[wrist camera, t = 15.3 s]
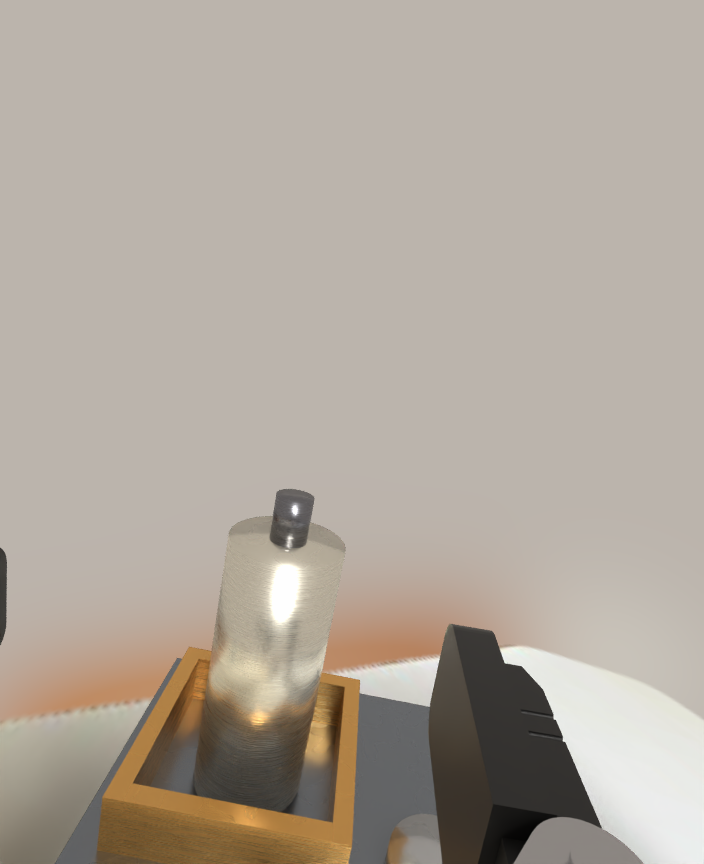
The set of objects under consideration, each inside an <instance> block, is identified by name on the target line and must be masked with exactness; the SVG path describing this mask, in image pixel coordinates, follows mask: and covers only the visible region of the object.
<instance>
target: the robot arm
mask: <svg viewBox="0 0 704 864" xmlns="http://www.w3.org/2000/svg"><path fill="white" fill-rule="evenodd" d="M6 574H7V560H6V555H5V552H4V551H3V550H2V549H1V548H0V645H1V642H2V640H3V637H4V634H5V629H6V589H7V588H6V585H7V584H6V583H7V577H6V576H7V575H6ZM428 734H429V747H430V756H431V765H432V774H433V783H434V792H435V801H436V811H437V820H438V829H439V838H440V847H441V856H442V864H643V862H642V861H641V860H640V859H639V858H638V857H637V856H636V855H635V854H634V853H633V852H632V851H631V850H630V849H629V848H628V847H627V846H626V845H625V844H623V843H622V842H621V841H620V840H618V839H617V838H616V837H614V836H613V835H611V834H610V833H608V832H606V831H605V830H603V829H602V827H601V825H600V823H599V820H598V818H597V816H596V813H595V811H594V809H593V806H592V804H591V802H590V799H589V797H588V795H587V792H586V790H585V787H584V785H583V783H582V780H581V778H580V776H579V773H578V771H577V769H576V766H575V764H574V762H573V759H572V757H571V755H570V752H569V750H568V748H567V745H566V743H565V742H563V736H562V733H561V731H560V729H559V726H558V724H557V722H556V720H554V719H553V712H552V710H551V708H550V705H549V703H548V701H547V698H546V696H545V693H544V691H543V689H542V688H541V687H540V686H539V685H538V684H537V683H536V682H535V680H534V679H533V678H532V677H531V676H530V675H529V674H528V673H527V672H526V671H525V670H524V668H523V667H522V666H517V665H511V664H505V663H504V660H503V658H502V655H501V652H500V649H499V646H498V643H497V640H496V637H495V635H494V633H493V632H492V631H489V630H484V629H477V628H471V627H465V626H459V625H454V624H450V625H449V626H448V628H447V630H446V633H445V637H444V642H443V646H442V651H441V656H440V660H439V665H438V670H437V674H436V679H435V684H434V688H433V693H432V698H431V703H430V711H429V726H428Z"/></svg>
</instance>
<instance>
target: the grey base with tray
mask: <svg viewBox="0 0 704 864" xmlns="http://www.w3.org/2000/svg"><path fill="white" fill-rule="evenodd" d="M211 652H212V651H208V650H203V649H197V648H192V647H189V648H188V650H187V652H186V653H185V655H184V657H183V659H180V658H177V660H176V661H175V663H174V664H173V666H172V668H171V670H170V671H169V673H168V674H167V676H166V678H165V680H164V681H163V683H162V685H161V686H160V688H159V689H158V691H157V693H156V695H155V696H154V698H153V700H152V701H151V703H150V705H149V706H148V708H147V710H146V711H145V713H144V715H143V716H142V718H141V720H140V721H139V723H138V725H137V726H136V728H135V730H134V732H133V733H132V735H131V737H130V738H129V740H128V742H127V743H126V745H125V747H124V748H123V750H122V752H121V753H120V755H119V757H118V758H117V760H116V762H115V763H114V765H113V767H112V768H111V770H110V772H109V774H108V775H107V777H106V779H105V780H104V782H103V784H102V785H101V787H100V789H99V790H98V792H97V794H96V795H95V797H94V799H93V800H92V802H91V804H90V805H89V807H88V809H87V811H86V812H85V814H84V816H83V817H82V819H81V821H80V822H79V824H78V826H77V827H76V829H75V831H74V832H73V834H72V836H71V837H70V839H69V841H68V842H67V844H66V846H65V848H64V849H63V851H62V853H61V854H60V856H59V858H58V859H57V861H56V863H55V864H442V856H441V847H440V838H439V829H438V820H437V811H436V801H435V792H434V783H433V774H432V765H431V756H430V747H429V734H428V726H429V711H430V707H427V706H421V705H416V704H411V703H406V702H401V701H396V700H391V699H386V698H380V697H375V696H370V695H365V694H360V693H359V690H360V680H357V679H352V678H347V677H342V676H337V675H332V674H326V673H321V678H320V683H319V689H318V694H317V699H316V704H315V709H314V714H313V719H312V724H311V729H310V734H309V739H308V745H307V750H306V755H305V760H304V765H303V770H302V775H301V780H300V785H299V789H298V791H297V794H296V796H295V797H294V799H293V801H292V802H291V803H290V804H289V805H288V806H287V807H286V808H285V809H284V810H283V811H281V812H276V811H271V810H266V809H261V808H256V807H251V806H246V805H240V804H235V803H230V802H225V801H220V800H215V799H210V798H205V797H200V796H198V795H197V793H196V790H195V787H194V781H193V774H194V768H195V761H196V754H197V747H198V740H199V734H200V727H201V720H202V713H203V706H204V699H205V693H206V686H207V679H208V672H209V665H210V659H211Z"/></svg>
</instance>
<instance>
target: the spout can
mask: <svg viewBox="0 0 704 864" xmlns="http://www.w3.org/2000/svg"><path fill="white" fill-rule="evenodd" d="M313 504H314V497H313V496H312V495H311V494H309V493H307V492H304V491H300V490H295V489H283V490H279V491H278V492H277V494H276V500H275V507H274V512H273V516H265V517H255V518H250V519H246V520H244V521H241V522H239V523H237V524H235V525H234V526H233V527H232V528H231V529H230V531H229V536H228V543H227V550H226V556H225V563H224V570H223V577H222V584H221V591H220V597H219V604H218V612H217V618H216V624H215V632H214V638H213V646H212V652H211V659H210V665H209V672H208V679H207V686H206V693H205V699H204V706H203V713H202V720H201V727H200V734H199V740H198V747H197V754H196V761H195V768H194V774H193V781H194V787H195V790H196V793H197V795H198V796H200V797H205V798H210V799H215V800H220V801H225V802H230V803H235V804H240V805H246V806H251V807H256V808H261V809H266V810H271V811H276V812H281V811H283V810H284V809H285V808H286V807H287V806H288V805H289V804H290V803H291V802H292V801H293V799H294V797H295V796H296V794H297V791H298V789H299V785H300V780H301V775H302V770H303V765H304V760H305V755H306V750H307V745H308V739H309V734H310V729H311V724H312V719H313V714H314V709H315V704H316V699H317V694H318V689H319V683H320V678H321V673H322V668H323V663H324V658H325V653H326V648H327V642H328V638H329V632H330V627H331V622H332V617H333V612H334V607H335V601H336V597H337V592H338V587H339V582H340V576H341V571H342V566H343V561H344V556H345V551H346V550H345V544H344V543H343V541H342V540H341V539H340V538H339V537H338V536H337V535H336V534H335V533H333V532H332V531H330V530H328V529H326V528H324V527H322V526H320V525H317V524H314V523H311V522H310V521H311V515H312V509H313Z"/></svg>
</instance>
